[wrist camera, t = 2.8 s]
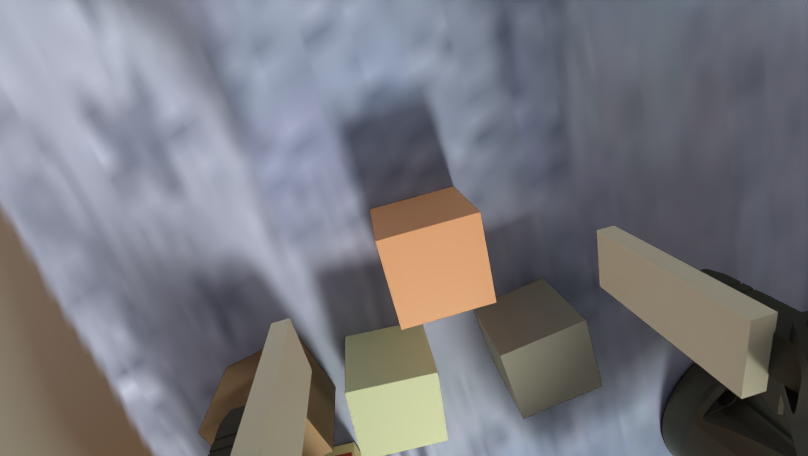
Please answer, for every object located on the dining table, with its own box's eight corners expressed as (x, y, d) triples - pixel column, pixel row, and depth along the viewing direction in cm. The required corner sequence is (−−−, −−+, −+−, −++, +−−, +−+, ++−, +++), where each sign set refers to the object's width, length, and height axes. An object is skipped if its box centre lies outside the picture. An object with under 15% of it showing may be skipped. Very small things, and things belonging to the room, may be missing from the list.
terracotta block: (452, 185, 22) (480, 211, 18) (468, 261, 24) (496, 302, 20) (369, 208, 22) (375, 241, 18) (391, 282, 24) (401, 330, 19)
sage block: (421, 319, 25) (437, 372, 21) (430, 379, 27) (448, 440, 22) (345, 335, 25) (344, 393, 20) (360, 395, 27) (362, 460, 22)
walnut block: (296, 332, 24) (284, 390, 20) (335, 385, 26) (333, 450, 22) (226, 367, 25) (198, 432, 20) (270, 418, 26) (254, 489, 22)
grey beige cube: (542, 277, 26) (585, 320, 21) (559, 334, 27) (602, 385, 23) (472, 307, 26) (500, 356, 21) (493, 362, 27) (523, 418, 23)
